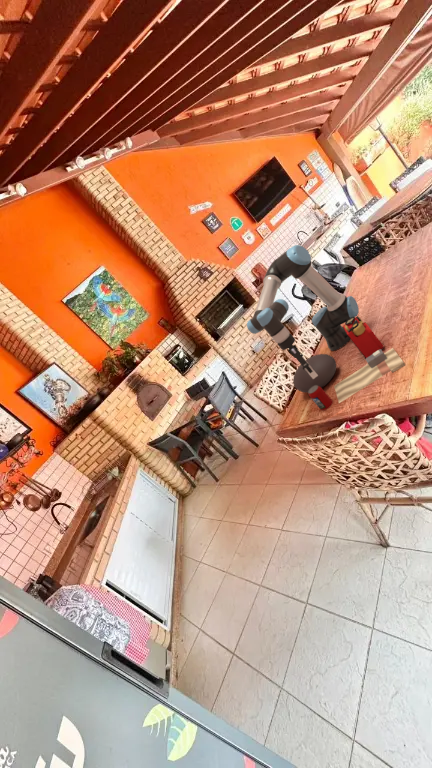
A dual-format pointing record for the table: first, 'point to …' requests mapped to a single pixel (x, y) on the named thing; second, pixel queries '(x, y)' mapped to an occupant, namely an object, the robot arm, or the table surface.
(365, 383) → the subfloor panel
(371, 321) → the table surface
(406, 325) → the table surface
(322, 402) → the beverage can
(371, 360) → the block
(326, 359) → the flattened ellipsoid
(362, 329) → the red mechanical device
